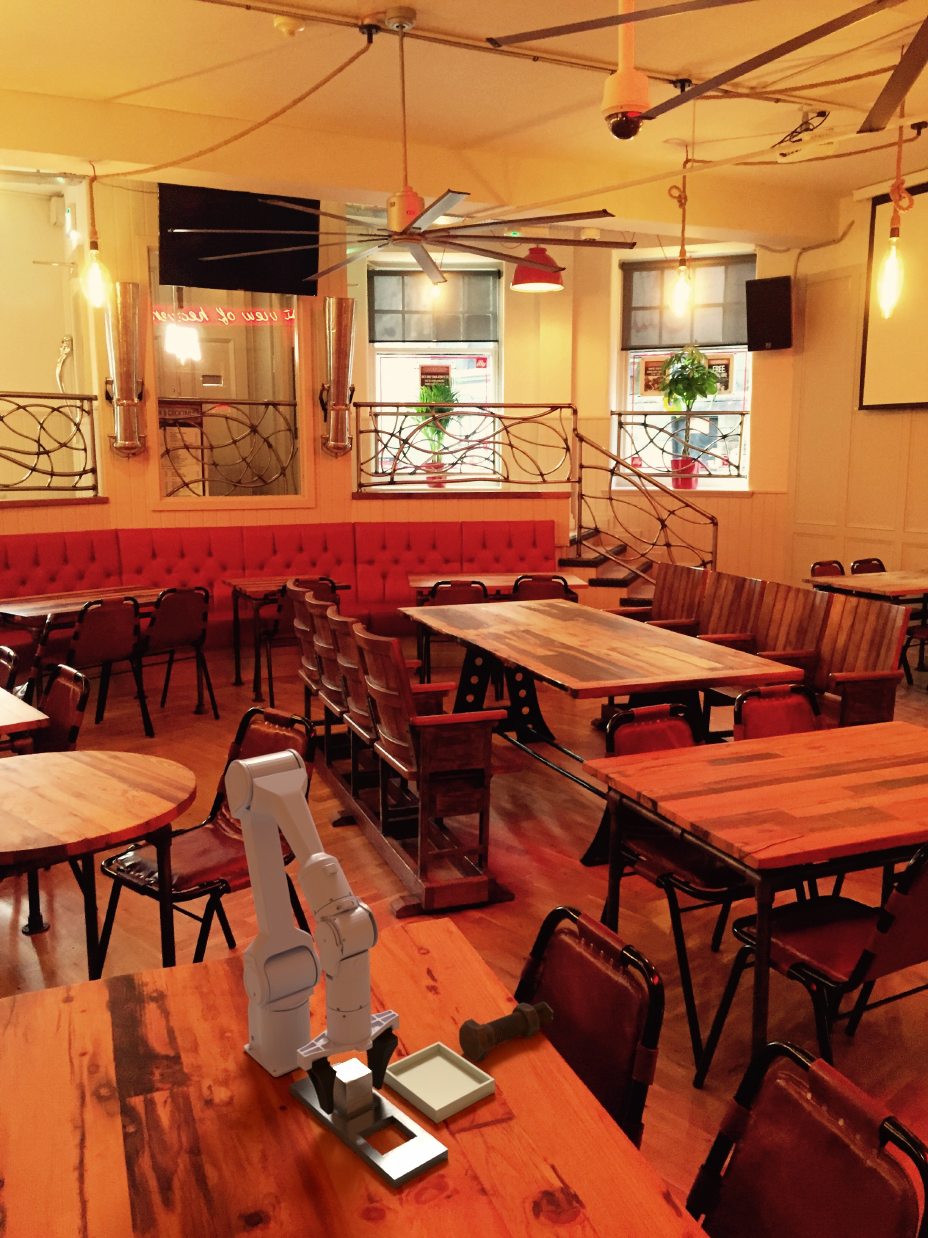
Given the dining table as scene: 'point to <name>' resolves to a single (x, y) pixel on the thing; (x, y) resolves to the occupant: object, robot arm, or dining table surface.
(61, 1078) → the dining table surface
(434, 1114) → the tray
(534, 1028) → the bolt
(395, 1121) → the metal plate with holes
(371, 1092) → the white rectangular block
